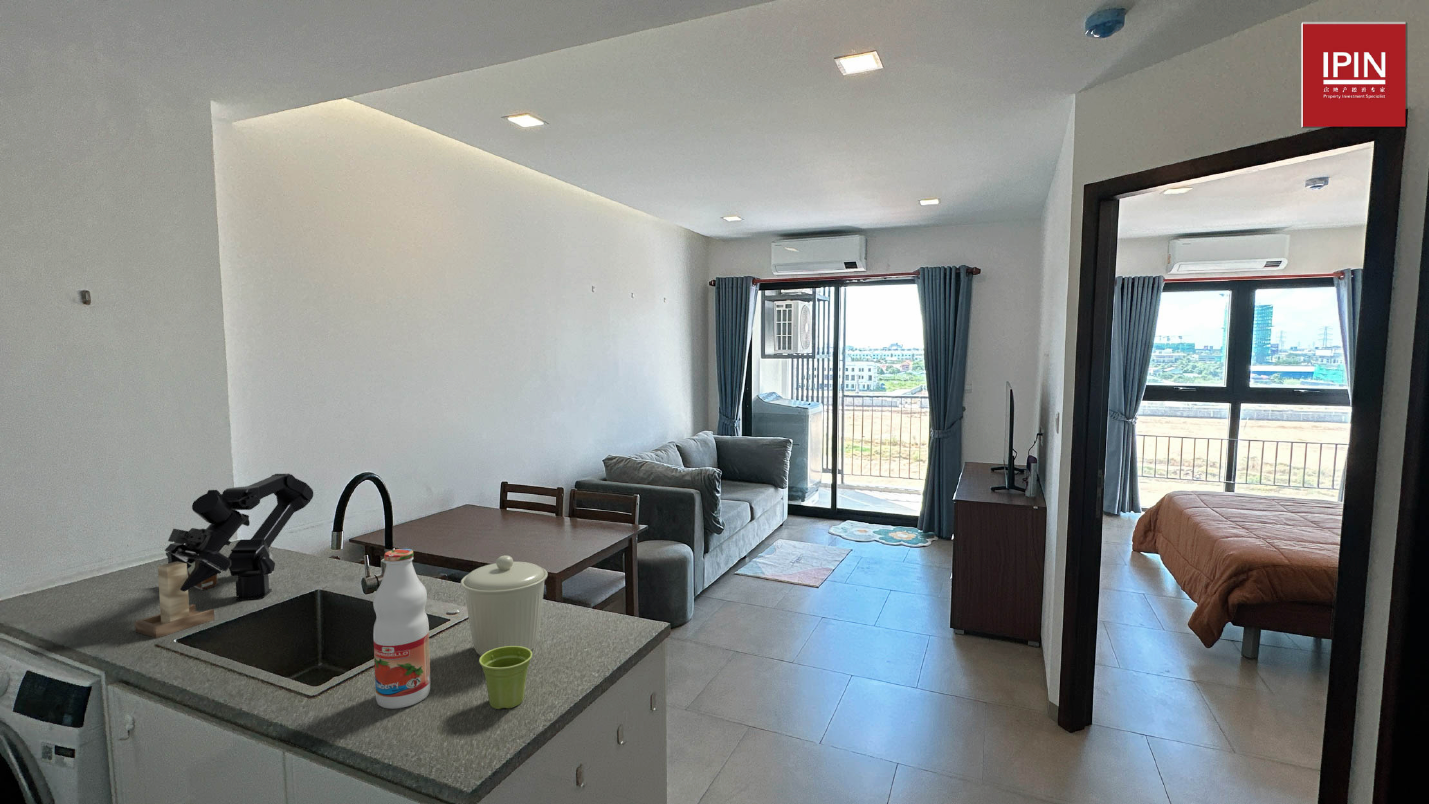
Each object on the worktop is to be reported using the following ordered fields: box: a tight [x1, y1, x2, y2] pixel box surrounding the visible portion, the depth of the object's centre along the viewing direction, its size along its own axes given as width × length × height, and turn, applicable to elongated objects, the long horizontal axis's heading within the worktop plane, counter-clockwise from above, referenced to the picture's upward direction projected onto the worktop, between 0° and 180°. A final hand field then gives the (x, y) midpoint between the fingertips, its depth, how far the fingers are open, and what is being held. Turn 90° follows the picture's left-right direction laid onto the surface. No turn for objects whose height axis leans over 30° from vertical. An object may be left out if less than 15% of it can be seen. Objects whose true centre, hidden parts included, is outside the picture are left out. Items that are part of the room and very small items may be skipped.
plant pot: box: [478, 646, 533, 710], centre depth 121 cm, size 9×9×9 cm
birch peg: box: [157, 561, 190, 624], centre depth 157 cm, size 4×4×14 cm
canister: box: [460, 555, 548, 657], centre depth 143 cm, size 18×18×21 cm
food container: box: [187, 550, 221, 591], centre depth 187 cm, size 12×6×10 cm, turn 58°
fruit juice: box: [372, 548, 431, 710], centre depth 123 cm, size 9×9×28 cm
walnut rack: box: [134, 604, 215, 639], centre depth 158 cm, size 12×9×2 cm
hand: (171, 587), depth 157 cm, fingers open, 9 cm apart
